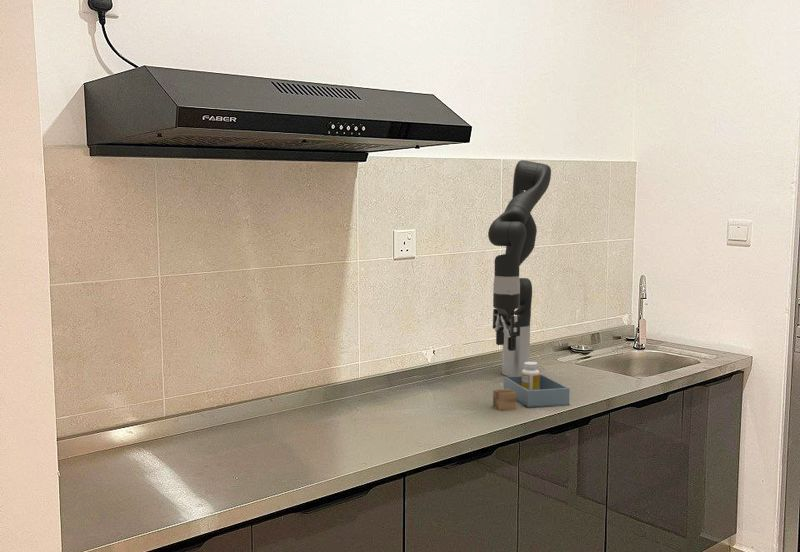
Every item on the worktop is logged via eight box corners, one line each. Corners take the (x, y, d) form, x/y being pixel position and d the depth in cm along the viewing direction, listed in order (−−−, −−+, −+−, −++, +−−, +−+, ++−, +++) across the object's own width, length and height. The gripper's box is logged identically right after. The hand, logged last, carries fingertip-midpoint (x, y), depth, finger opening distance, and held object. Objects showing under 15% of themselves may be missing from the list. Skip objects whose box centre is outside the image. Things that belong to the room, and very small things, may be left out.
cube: (493, 406, 224) (493, 389, 224) (508, 405, 225) (509, 388, 225) (499, 411, 219) (499, 393, 219) (515, 409, 221) (515, 392, 220)
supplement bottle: (538, 391, 238) (539, 361, 237) (539, 396, 233) (540, 365, 232) (521, 391, 239) (521, 360, 238) (521, 396, 234) (522, 364, 233)
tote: (503, 392, 239) (503, 376, 239) (542, 389, 243) (542, 374, 242) (527, 408, 222) (528, 391, 221) (569, 405, 225) (569, 388, 225)
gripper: (485, 289, 225) (484, 343, 226) (504, 294, 211) (503, 353, 213) (508, 288, 227) (508, 342, 228) (529, 294, 213) (528, 351, 215)
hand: (505, 347), depth 220 cm, fingers open, 8 cm apart
